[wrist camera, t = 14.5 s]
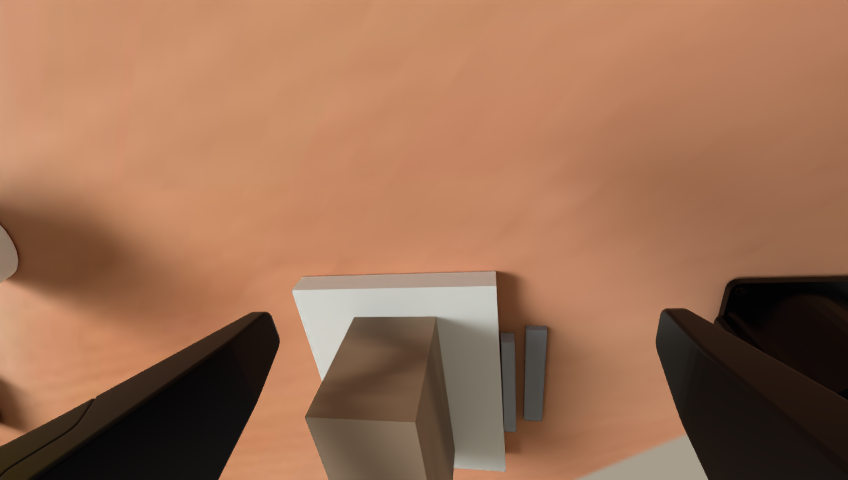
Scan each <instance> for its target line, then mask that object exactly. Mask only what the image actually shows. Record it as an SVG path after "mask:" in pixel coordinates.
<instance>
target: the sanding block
mask: <svg viewBox="0 0 848 480" xmlns="http://www.w3.org/2000/svg"><path fill="white" fill-rule="evenodd" d="M305 419H306V422H307V424H308V427H309V429H310V432H311V435H312V437H313V440H314V442H315V445H316V448H317V450H318V453H319V455H320V458H321V460H322V463H323V466H324V468H325V471H326V473H327V476H328V479H329V480H453V470H454V458H455V447H454V440H453V432H452V425H451V418H450V411H449V404H448V397H447V390H446V383H445V376H444V369H443V362H442V355H441V348H440V341H439V334H438V327H437V320H436V316H427V317H354V318H353V320H352V322H351V324H350V326H349V328H348V330H347V333H346V335H345V337H344V339H343V341H342V343H341V345H340V347H339V349H338V351H337V353H336V355H335V357H334V359H333V361H332V363H331V365H330V367H329V369H328V371H327V373H326V375H325V377H324V379H323V381H322V383H321V385H320V387H319V389H318V391H317V393H316V395H315V397H314V400H313V402H312V404H311V406H310V408H309V410H308V412H307V414H306V416H305Z"/></svg>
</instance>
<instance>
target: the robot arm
mask: <svg viewBox="0 0 848 480" xmlns="http://www.w3.org/2000/svg"><path fill="white" fill-rule="evenodd" d="M741 287H742V288H741ZM738 288H741V289H740V290H739V291H736V290H737V289H738ZM279 343H280V339H279V335H278V332H277V329H276V327H275V324H274V321H273V319H272V316H271V315H270V314H269V313H268V312H251V313H249V314H247V315H246V316H244V317H242V318H240V319H238V320H236V321H235V322H233V323H231V324H229V325H227V326H225V327H223V328H222V329H220V330H218V331H216V332H214V333H212V334H211V335H209V336H207V337H205V338H203V339H201V340H200V341H198V342H196V343H194V344H192V345H190V346H188V347H187V348H185V349H183V350H181V351H179V352H177V353H176V354H174V355H172V356H170V357H168V358H166V359H165V360H163V361H161V362H159V363H157V364H155V365H153V366H152V367H150V368H148V369H146V370H144V371H142V372H141V373H139V374H137V375H135V376H133V377H131V378H130V379H128V380H126V381H124V382H122V383H120V384H118V385H117V386H115V387H113V388H111V389H109V390H107V391H106V392H104V393H102V394H100V395H98V396H97V397H96V398H95V399H94V398H93V399H91V400H89V401H87V402H85V403H83V404H82V405H80V406H78V407H76V408H74V409H72V410H70V411H69V412H67V413H65V414H63V415H61V416H59V417H57V418H55V419H53V420H52V421H50V422H48V423H46V424H44V425H42V426H40V427H38V428H36V429H34V430H32V431H30V432H28V433H26V434H24V435H22V436H20V437H18V438H16V439H14V440H12V441H10V442H8V443H7V444H5V445H2V446H0V480H218V479H219V477H220V475H221V473H222V471H223V469H224V467H225V465H226V463H227V461H228V459H229V457H230V455H231V453H232V451H233V450H234V448H235V446H236V444H237V442H238V440H239V438H240V436H241V434H242V432H243V430H244V428H245V426H246V424H247V422H248V420H249V418H250V416H251V414H252V412H253V410H254V408H255V405H256V403H257V401H258V399H259V396H260V394H261V392H262V389H263V386H264V384H265V381H266V379H267V376H268V373H269V371H270V368H271V366H272V363H273V361H274V358H275V355H276V353H277V350H278V348H279ZM656 348H657V352H658V355H659V358H660V361H661V364H662V367H663V370H664V373H665V376H666V379H667V382H668V385H669V388H670V391H671V394H672V397H673V400H674V403H675V406H676V409H677V411H678V414H679V417H680V419H681V422H682V424H683V426H684V429H685V431H686V433H687V435H688V437H689V439H690V441H691V444H692V446H693V448H694V450H695V452H696V454H697V457H698V459H699V461H700V463H701V465H702V467H703V469H704V471H705V474H706V476H707V478H708V480H848V277H804V278H758V279H735V280H733V281H730V282H729V283H728V284H727V286H726V288H725V292H724V295H723V299H722V303H721V307H720V311H719V314H718V316H717V318H716V319H715V321H714V324H712V323H710V322H709V321H707V320H705V319H703V318H702V317H700V316H698V315H696V314H695V313H693V312H691V311H689V310H687V309H684V308H667V309H664V310H663V311H662V312H661V315H660V320H659V325H658V330H657V336H656Z"/></svg>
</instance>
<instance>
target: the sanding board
mask: <svg viewBox="0 0 848 480" xmlns="http://www.w3.org/2000/svg"><path fill="white" fill-rule="evenodd" d="M292 293H293V296H294V299H295V302H296V305H297V308H298V311H299V314H300V317H301V320H302V323H303V326H304V329H305V332H306V335H307V338H308V340H309V343H310V346H311V349H312V352H313V355H314V358H315V361H316V364H317V367H318V370H319V373H320V376H321V379H322V381H323V379H324V377H325V375H326V373H327V371H328V369H329V367H330V365H331V363H332V361H333V359H334V357H335V355H336V353H337V351H338V349H339V347H340V345H341V343H342V341H343V339H344V337H345V335H346V333H347V330H348V328H349V326H350V324H351V322H352V320H353V318H354V317H427V316H436V320H437V327H438V334H439V341H440V348H441V355H442V362H443V369H444V376H445V383H446V390H447V397H448V404H449V411H450V418H451V425H452V432H453V440H454V447H455V458H454V468H462V469H476V470H490V471H504V472H506V467H505V443H504V424H503V404H502V385H501V365H500V346H499V326H498V306H497V287H496V271H486V272H451V273H415V274H380V275H344V276H309V277H302V278H301V279H300V280H299V282H298V283H297V284H296V285H295V287H294V288H293V289H292Z"/></svg>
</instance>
